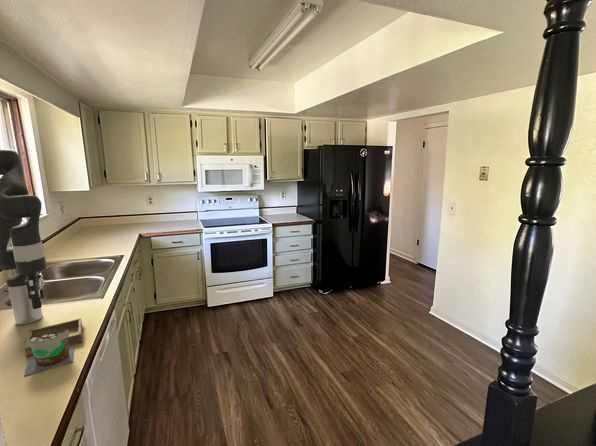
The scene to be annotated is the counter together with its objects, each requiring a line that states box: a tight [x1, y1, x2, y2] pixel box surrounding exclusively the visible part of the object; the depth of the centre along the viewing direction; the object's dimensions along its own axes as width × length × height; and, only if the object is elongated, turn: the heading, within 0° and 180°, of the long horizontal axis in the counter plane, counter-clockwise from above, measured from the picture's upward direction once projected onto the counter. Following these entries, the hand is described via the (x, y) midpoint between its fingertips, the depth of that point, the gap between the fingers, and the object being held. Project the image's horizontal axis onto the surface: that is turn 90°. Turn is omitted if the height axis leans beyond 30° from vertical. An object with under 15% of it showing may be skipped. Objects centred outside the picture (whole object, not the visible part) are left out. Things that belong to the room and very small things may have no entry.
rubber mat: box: [23, 346, 74, 378], centre depth 111 cm, size 10×13×1 cm
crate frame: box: [24, 318, 83, 358], centre depth 124 cm, size 15×17×4 cm
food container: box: [26, 330, 71, 367], centre depth 109 cm, size 12×6×10 cm, turn 105°
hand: (39, 303), depth 107 cm, fingers open, 8 cm apart
